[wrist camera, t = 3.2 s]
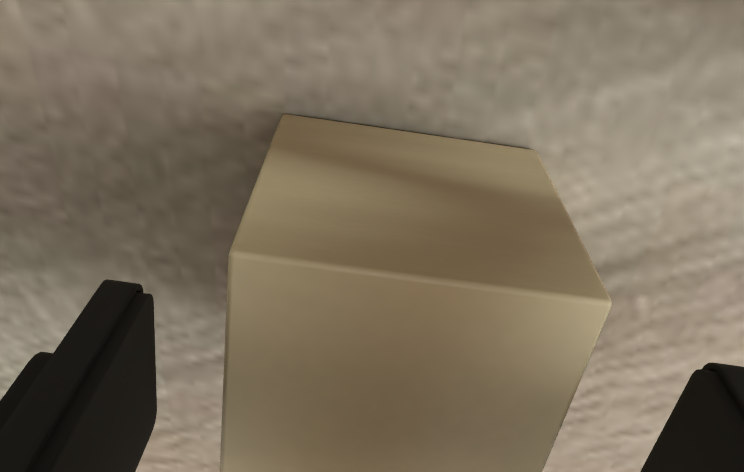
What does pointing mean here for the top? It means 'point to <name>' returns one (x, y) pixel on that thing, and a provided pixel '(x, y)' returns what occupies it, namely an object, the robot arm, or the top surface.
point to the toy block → (402, 306)
